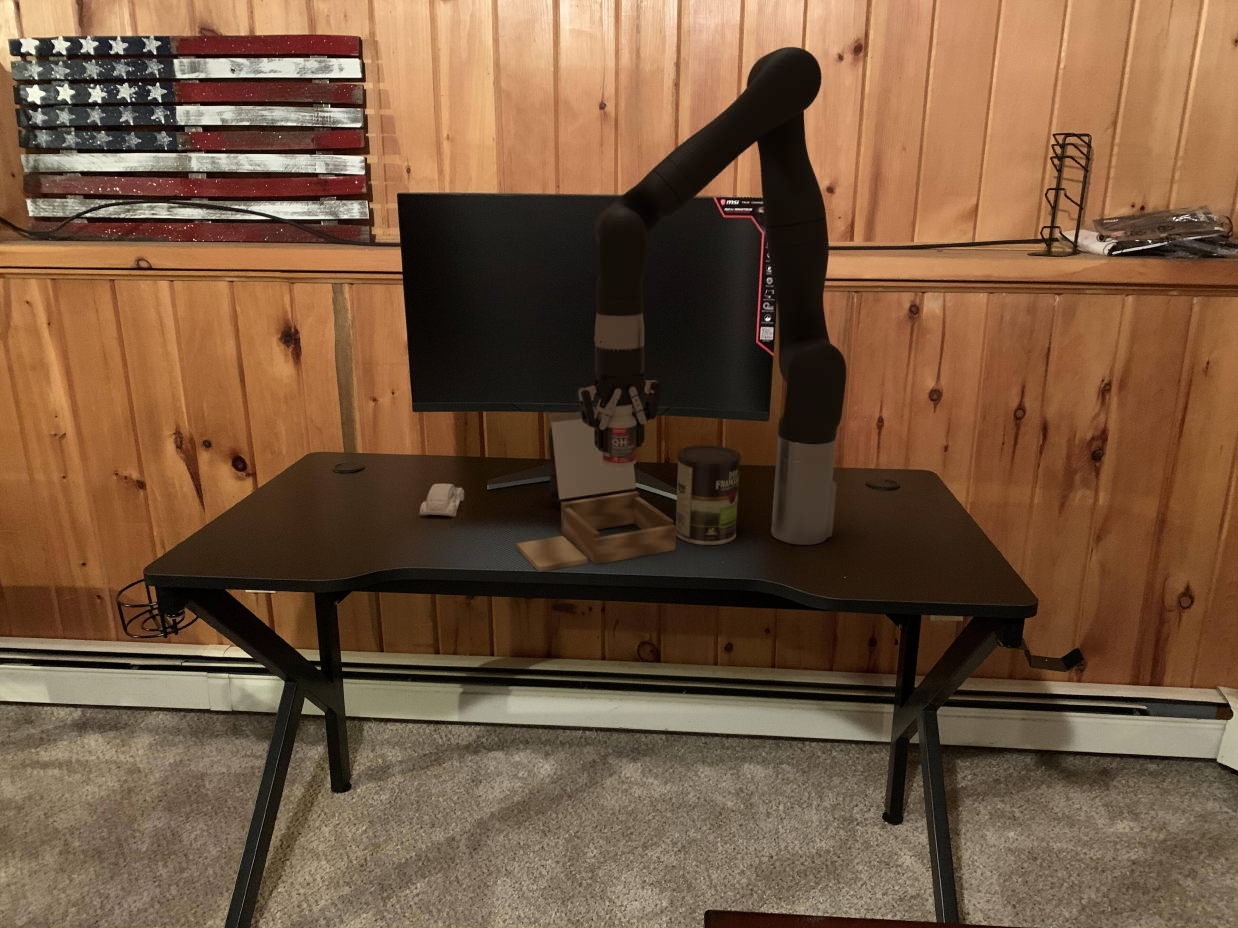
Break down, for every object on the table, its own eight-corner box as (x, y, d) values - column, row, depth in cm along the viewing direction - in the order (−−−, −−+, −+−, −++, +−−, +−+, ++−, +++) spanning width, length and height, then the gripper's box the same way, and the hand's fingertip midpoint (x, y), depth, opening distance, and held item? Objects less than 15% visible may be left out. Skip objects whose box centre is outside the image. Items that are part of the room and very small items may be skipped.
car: (453, 521, 159) (452, 496, 158) (417, 520, 160) (416, 494, 158) (468, 497, 171) (467, 473, 169) (435, 496, 171) (433, 472, 170)
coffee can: (748, 533, 155) (753, 453, 151) (712, 550, 148) (717, 467, 143) (698, 518, 162) (702, 440, 157) (662, 534, 154) (664, 454, 150)
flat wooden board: (562, 540, 151) (562, 535, 151) (587, 563, 142) (587, 558, 142) (516, 548, 148) (516, 543, 147) (539, 572, 139) (539, 567, 139)
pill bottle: (613, 470, 143) (613, 409, 140) (596, 461, 148) (595, 402, 145) (643, 464, 146) (643, 404, 143) (625, 456, 150) (625, 397, 147)
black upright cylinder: (540, 507, 166) (539, 426, 161) (564, 493, 172) (563, 416, 168) (579, 515, 162) (579, 433, 157) (602, 501, 169) (602, 422, 164)
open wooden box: (636, 520, 160) (636, 491, 158) (675, 549, 148) (676, 518, 146) (561, 532, 154) (561, 502, 152) (596, 564, 142) (596, 531, 140)
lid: (635, 488, 158) (633, 487, 159) (627, 406, 157) (625, 407, 158) (560, 499, 152) (558, 498, 153) (551, 415, 151) (549, 415, 152)
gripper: (586, 350, 135) (588, 461, 140) (672, 342, 141) (670, 448, 146) (566, 342, 141) (568, 448, 146) (649, 335, 147) (648, 436, 152)
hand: (619, 447), depth 146 cm, fingers closed on pill bottle, 5 cm apart
